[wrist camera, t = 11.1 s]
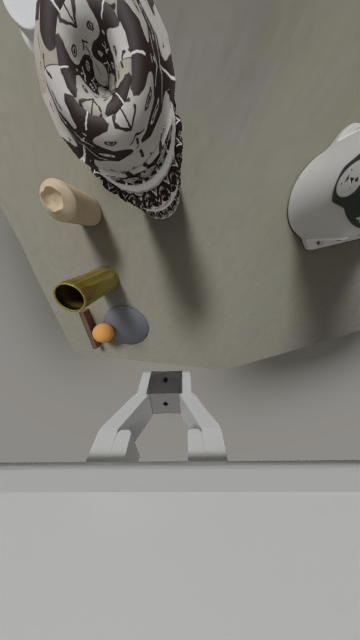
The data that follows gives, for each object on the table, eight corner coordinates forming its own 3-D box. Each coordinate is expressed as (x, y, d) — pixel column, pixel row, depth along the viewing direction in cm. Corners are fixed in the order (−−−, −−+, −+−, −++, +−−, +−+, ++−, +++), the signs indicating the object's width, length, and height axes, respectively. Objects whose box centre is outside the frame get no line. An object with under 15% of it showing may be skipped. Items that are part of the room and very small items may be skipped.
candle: (100, 230, 33) (70, 227, 24) (74, 220, 32) (33, 212, 23) (103, 200, 30) (71, 184, 21) (74, 188, 29) (29, 166, 21)
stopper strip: (88, 308, 42) (83, 312, 39) (101, 343, 47) (97, 348, 45) (84, 308, 42) (78, 312, 39) (97, 343, 47) (93, 348, 45)
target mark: (144, 305, 41) (144, 305, 41) (151, 343, 47) (151, 343, 47) (98, 306, 41) (97, 307, 41) (110, 344, 47) (110, 344, 47)
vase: (91, 265, 36) (44, 278, 24) (117, 266, 36) (83, 281, 24) (96, 289, 39) (56, 313, 26) (120, 291, 39) (91, 315, 27)
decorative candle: (140, 223, 32) (50, 187, 10) (131, 164, 28) (-65, -132, 6) (183, 220, 32) (186, 176, 10) (180, 159, 27) (177, -171, 5)
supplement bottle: (98, 114, 25) (54, 48, 16) (64, 105, 24) (1, 33, 16) (95, 59, 22) (41, -53, 14) (57, 49, 22) (-22, -73, 13)
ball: (88, 332, 38) (89, 322, 42) (96, 349, 40) (96, 338, 45) (112, 326, 40) (110, 317, 44) (117, 342, 42) (115, 333, 47)
